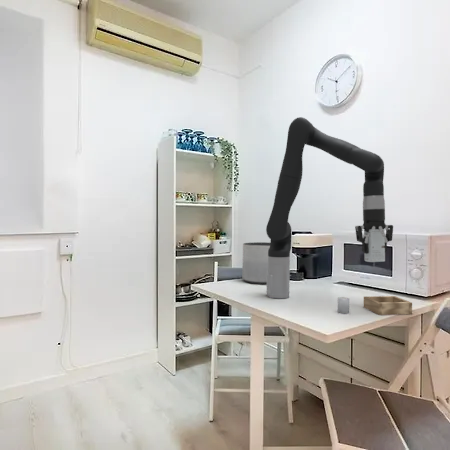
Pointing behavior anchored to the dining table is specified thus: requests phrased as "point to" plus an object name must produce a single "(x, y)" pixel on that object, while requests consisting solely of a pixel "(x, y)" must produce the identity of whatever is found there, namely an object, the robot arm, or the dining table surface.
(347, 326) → the dining table surface
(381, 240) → the skincare box
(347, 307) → the grey stub
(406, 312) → the oak collar
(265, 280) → the planter
